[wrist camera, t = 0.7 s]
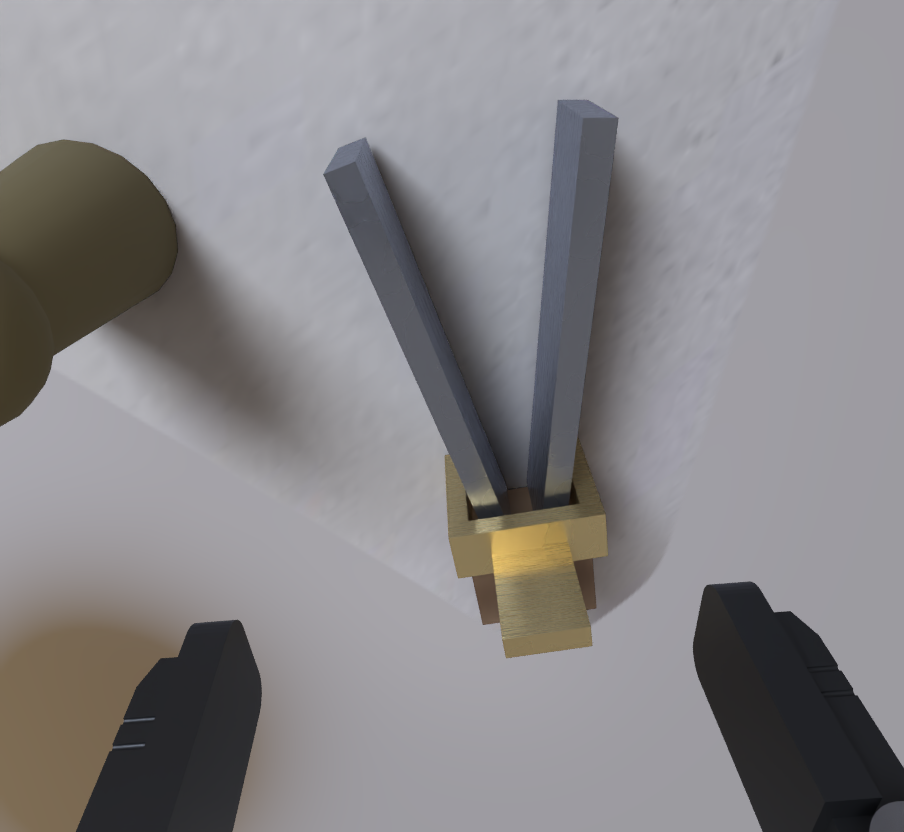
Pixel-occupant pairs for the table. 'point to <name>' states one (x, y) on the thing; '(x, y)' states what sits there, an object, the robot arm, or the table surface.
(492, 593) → the block
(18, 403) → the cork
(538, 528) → the collar
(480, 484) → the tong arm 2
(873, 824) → the robot arm
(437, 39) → the table surface
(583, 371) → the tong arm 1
